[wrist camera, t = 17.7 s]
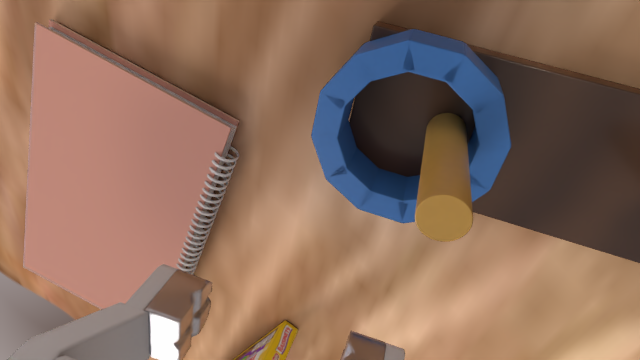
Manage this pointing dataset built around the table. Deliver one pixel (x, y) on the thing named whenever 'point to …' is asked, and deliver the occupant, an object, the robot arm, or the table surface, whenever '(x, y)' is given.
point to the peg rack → (513, 151)
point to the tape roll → (423, 59)
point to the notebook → (116, 170)
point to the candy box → (272, 344)
